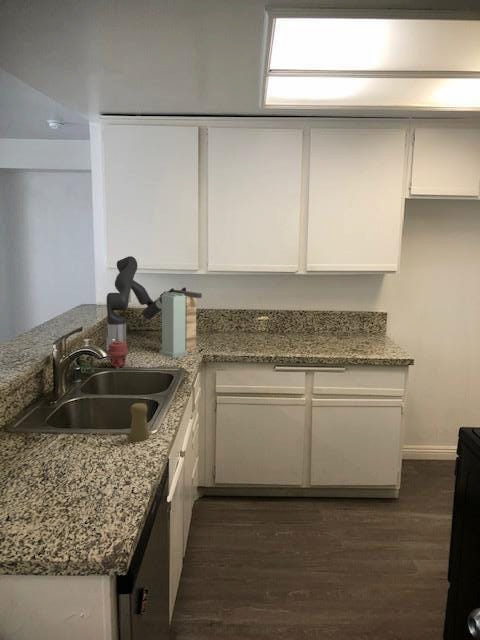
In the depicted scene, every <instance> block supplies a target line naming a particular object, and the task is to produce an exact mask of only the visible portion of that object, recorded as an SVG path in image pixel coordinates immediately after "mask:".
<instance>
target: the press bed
mask: <svg viewBox="0 0 480 640" xmlns="http://www.w3.org/2000/svg"><path fill="white" fill-rule="evenodd" d="M190 349H191V350H195V349H197V298H194V297H187V296H186V309H185V351H191V350H190Z"/></svg>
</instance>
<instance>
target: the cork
mask: <svg viewBox="0 0 480 640" xmlns="http://www.w3.org/2000/svg"><path fill="white" fill-rule="evenodd" d="M147 413H148V406H147V404H146V403H141V402H138V403H137V402H136V403H133V404H132V405H131V407H130V414H131V423H130V424H131V425H130V432H129V440H130V441H131V442H134V443H135V442H136V443H137V442H138V443H140V442H145V441H148V440H149V439H150V434H149V426H148V421H147Z"/></svg>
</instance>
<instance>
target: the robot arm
mask: <svg viewBox="0 0 480 640" xmlns="http://www.w3.org/2000/svg"><path fill="white" fill-rule="evenodd" d="M116 267H117V270H118V272H119V273H118V274H117V276H116V278H115V281H114V288H115V289H116V291H118V292H108V293H107V295H106V309H107V310H106V312H107V315H106V316H107V337H106V352H107V351H108V350H109V344H110V343H113V342H115V341H121V342H123V343H126V344H127V319H126V317H124V316H122V315H120V314H117V313H116V312H115V311H126V310H128V307H129V303H130V294H131V290H132V292H133V294H134V295H135V298H136V299H137V300H138V303H139V304H140V305H141V306H144V305H145V306H146V307H145V308H144V309H143V310H142V317H143V318H144V319H146V320H151V319H153V318H154V317H155V316H156V315H157V314H158V313H160V312H162V295H163V293H170V292H174V290H175V288H174V287H172V288H170V289H169V290H167V291H163V292H162V293H160V295H159V296H158V297H157V298H156V299H155V300H152V298H150V296H149V293H148V292H147V290H146V288H145V287H144V286H143V285H141V284H140V283H139V282H137V281H136V280H134V277H135V274H136V272H137V271H138V261H137V259H136V257H134V256H131V255H130V256H126V257H124V258H122V259H119V260H117V261H116ZM180 290H182V291H187V289H186V287H182V288H181V289H180ZM108 357H110V355H108ZM125 357H127V355H125Z"/></svg>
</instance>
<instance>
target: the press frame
mask: <svg viewBox="0 0 480 640" xmlns="http://www.w3.org/2000/svg"><path fill="white" fill-rule="evenodd" d="M162 293H163V292H162ZM185 309H186V296H184V294H181V293H174V292H170V293H163V295H162V311H161V349H159V351H158V352H159V353H158V354H159V355H162V356H166V357H169V358H172V359H174V358H180V357H184V356H185V357H186V356H188V355H189V350H185Z"/></svg>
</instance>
